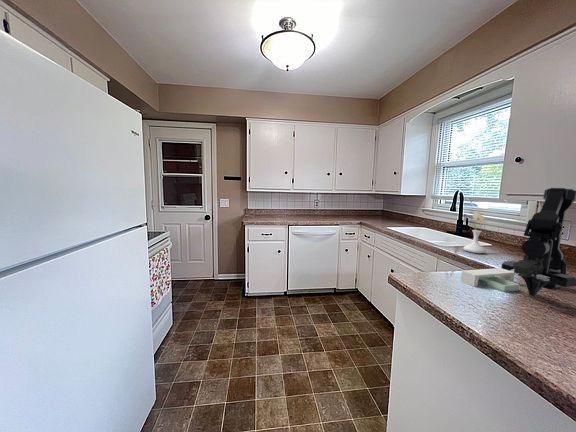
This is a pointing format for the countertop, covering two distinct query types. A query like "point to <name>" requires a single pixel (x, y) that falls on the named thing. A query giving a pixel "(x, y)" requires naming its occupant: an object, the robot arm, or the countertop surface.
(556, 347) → the countertop surface
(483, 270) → the shelf
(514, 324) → the countertop surface
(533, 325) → the countertop surface
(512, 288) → the tray
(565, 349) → the countertop surface
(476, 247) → the flower in vase
